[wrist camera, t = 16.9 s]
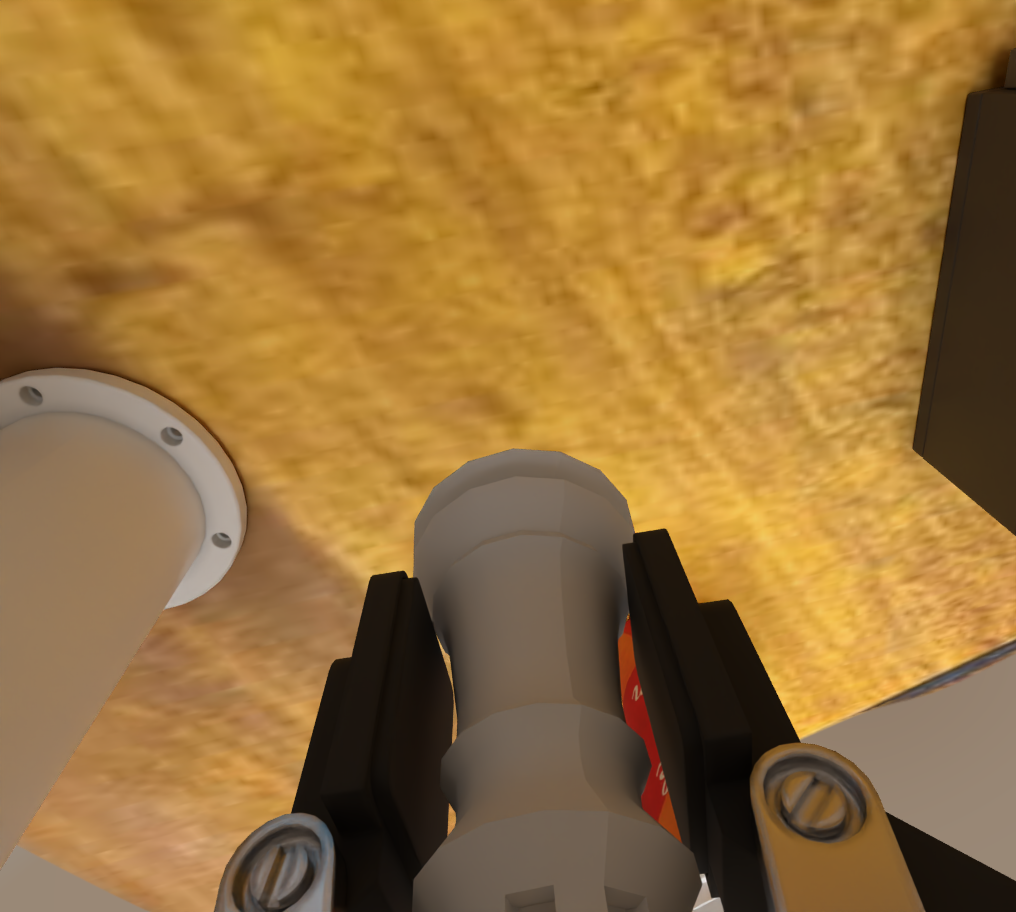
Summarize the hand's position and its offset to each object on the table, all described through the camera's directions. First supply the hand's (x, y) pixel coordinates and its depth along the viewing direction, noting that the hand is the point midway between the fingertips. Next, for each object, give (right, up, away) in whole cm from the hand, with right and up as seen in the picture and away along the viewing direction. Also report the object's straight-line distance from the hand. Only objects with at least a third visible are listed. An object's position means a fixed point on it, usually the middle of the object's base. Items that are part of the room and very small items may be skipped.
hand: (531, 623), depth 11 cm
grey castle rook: (0, +1, +2) cm, 3 cm away
